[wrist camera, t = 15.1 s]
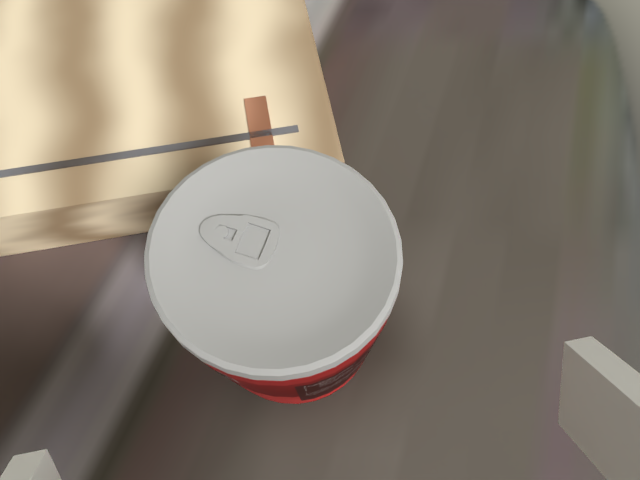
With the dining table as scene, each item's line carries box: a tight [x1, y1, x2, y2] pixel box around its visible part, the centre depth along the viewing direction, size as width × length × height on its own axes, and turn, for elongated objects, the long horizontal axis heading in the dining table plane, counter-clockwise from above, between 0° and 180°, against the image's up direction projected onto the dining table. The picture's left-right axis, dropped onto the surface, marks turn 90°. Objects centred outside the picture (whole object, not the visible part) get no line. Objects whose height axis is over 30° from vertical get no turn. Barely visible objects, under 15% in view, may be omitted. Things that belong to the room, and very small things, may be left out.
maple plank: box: [0, 0, 345, 257], centre depth 28 cm, size 28×20×4 cm
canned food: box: [144, 145, 403, 404], centre depth 18 cm, size 8×8×11 cm
